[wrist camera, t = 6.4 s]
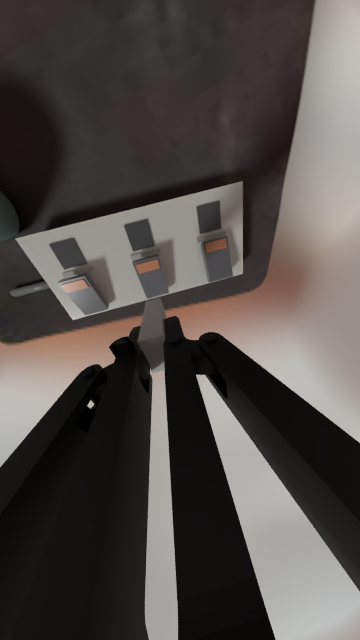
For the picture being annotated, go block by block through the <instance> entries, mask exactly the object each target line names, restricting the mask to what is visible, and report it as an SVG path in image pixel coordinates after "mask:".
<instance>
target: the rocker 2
mask: <svg viewBox="0 0 360 640" xmlns="http://www.w3.org/2000/svg"><path fill="white" fill-rule="evenodd" d="M132 263H133V266H134V268H135V271H136V273H137V276H138V278H139V280H140V283H141V285H142V288H143V290H144V293H145V295H146V297H147V299H148V298H152V297H156V296H160V295H163V294H167V293H169V291H168V287H167V283H166V280H165V276H164V273H163V269H162V265H161V262H160V258H159V254H156V255H152V256H148V257H144V258H140V259H136V260H133V262H132Z"/></svg>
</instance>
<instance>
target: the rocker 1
mask: <svg viewBox="0 0 360 640" xmlns="http://www.w3.org/2000/svg"><path fill="white" fill-rule="evenodd" d="M57 284H58V285H59V286H60V288H61V289H62V290H63V291H64V292H65V293H66V294H67V295H68V297H69V298H70V299H71V300H72V301H73V302H74V303H75V304H76V305H77V307H78V308H79V309H80V310H81V311H82V312H83V313H84V314H85V315H89V314H92V313H96V312H100V311H103V310H107V309H108V307H109V304H108V303H107V301H106V300H105V298H104V297H103V295H102V294H101V292H100V291H99V289H98V288H97V286H96V285H95V283H94V282H93V280H92V279H91V278H90V276H89V275H88V273H83V274H80V275H76V276H72V277H68V278H64V279H61V280H60V281H59V282H58V283H57Z"/></svg>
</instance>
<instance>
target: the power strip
mask: <svg viewBox="0 0 360 640" xmlns="http://www.w3.org/2000/svg"><path fill="white" fill-rule="evenodd" d="M224 236H227V238H228V245H229V252H230V259H231V265H232V272H233V276H237V275H241V274H243V181H241V182H237V183H233V184H229V185H225V186H221V187H217V188H214V189H210V190H206V191H202V192H198V193H194V194H190V195H186V196H182V197H178V198H174V199H170V200H166V201H162V202H158V203H154V204H150V205H146V206H143V207H139V208H135V209H131V210H127V211H123V212H119V213H115V214H111V215H107V216H103V217H99V218H95V219H91V220H87V221H83V222H79V223H75V224H71V225H68V226H64V227H60V228H56V229H52V230H48V231H44V232H40V233H36V234H32V235H28V236H24V237H20V238H16V241H17V242H18V243H19V245H20V246H21V248H22V249H23V250H24V252H25V253H26V255H27V256H28V257H29V259H30V260H31V262H32V263H33V264H34V266H35V267H36V269H37V270H38V271H39V273H40V274H41V276H42V277H43V278H44V280H45V281H43V282H39V283H35V284H32V285H28V286H24V287H20V288H16V289H13V290H11V291H10V294H11V295H12V296H15V297H17V296H21V295H25V294H29V293H33V292H36V291H40V290H44V289H48V288H51V290H52V291H53V293H54V294H55V295H56V297H57V298H58V300H59V301H60V302H61V304H62V305H63V307H64V308H65V309H66V311H67V312H68V314H69V315H70V316H71V318H72V319H73V320H74V319H78V318H82V317H86V316H89V315H93V314H97V313H100V312H104V311H108V310H111V309H115V308H119V307H122V306H126V305H130V304H133V303H137V302H141V301H145V300H148V299H152V298H156V297H159V296H156V297H152V298H148V299H147V297H146V295H145V293H144V290H143V288H142V285H141V283H140V280H139V278H138V276H137V273H136V271H135V268H134V266H133V263H132V262H133V260H136V259H140V258H144V257H148V256H152V255H156V254H159V258H160V262H161V265H162V269H163V273H164V276H165V280H166V283H167V287H168V291H169V293H167V294H170V293H174V292H178V291H181V290H185V289H189V288H193V287H196V286H200V285H204V284H207V283H208V280H207V275H206V270H205V265H204V260H203V255H202V250H201V243H202V242H205V241H209V240H213V239H216V238H220V237H224ZM83 273H88V275H89V276H90V278H91V279H92V280H93V282H94V283H95V285H96V286H97V288H98V289H99V291H100V292H101V294H102V295H103V297H104V298H105V300H106V301H107V303H108V304H109V307H108V309H107V310H103V311H100V312H96V313H92V314H89V315H85V314H84V313H83V312H82V311H81V310H80V309H79V308H78V307H77V305H76V304H75V303H74V302H73V301H72V300H71V299H70V298H69V297H68V295H67V294H66V293H65V292H64V291H63V290H62V289H61V288H60V286H59V285H58V284H57V283H58V282H59V281H60V280H61V279H64V278H68V277H72V276H76V275H80V274H83ZM233 276H232V277H233ZM228 278H229V277H228ZM224 279H226V278H224ZM221 280H222V279H221ZM217 281H218V280H217ZM213 282H215V281H213ZM209 283H211V282H209ZM167 294H163V295H167ZM163 295H160V296H163Z"/></svg>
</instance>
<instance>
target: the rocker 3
mask: <svg viewBox="0 0 360 640" xmlns="http://www.w3.org/2000/svg"><path fill="white" fill-rule="evenodd" d="M201 250H202V255H203V260H204V265H205V270H206V275H207V280H208V283H209V282H213V281H217V280H221V279H224V278H228V277H232V276H233V272H232V265H231V259H230V252H229V245H228V238H227V236H224V237H220V238H216V239H213V240H209V241H205V242H202V243H201Z"/></svg>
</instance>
